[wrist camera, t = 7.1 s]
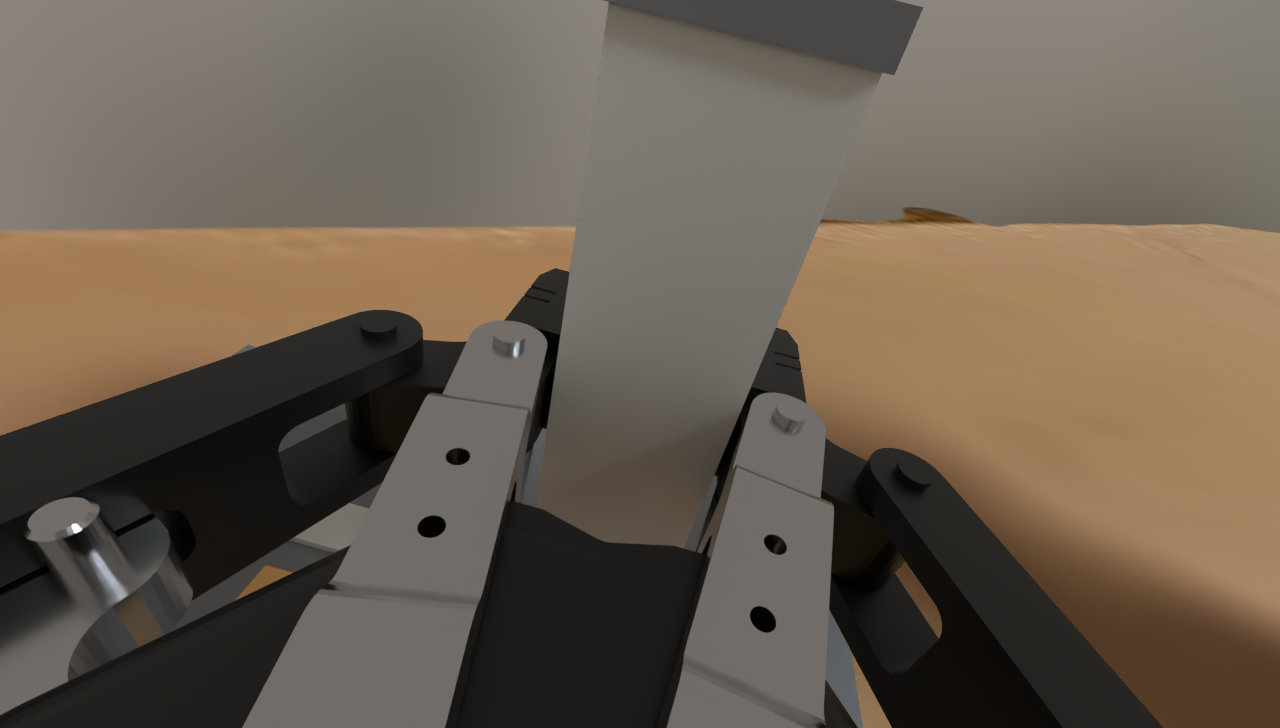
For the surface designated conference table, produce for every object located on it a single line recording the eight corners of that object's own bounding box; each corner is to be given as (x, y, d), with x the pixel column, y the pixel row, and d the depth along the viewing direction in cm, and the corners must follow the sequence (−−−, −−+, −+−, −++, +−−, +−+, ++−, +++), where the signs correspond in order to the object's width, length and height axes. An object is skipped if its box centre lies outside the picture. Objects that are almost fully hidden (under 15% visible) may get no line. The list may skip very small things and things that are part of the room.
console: (800, 545, 21) (840, 481, 19) (849, 1030, 11) (946, 1010, 9) (261, 396, 21) (240, 317, 19) (-164, 734, 11) (-303, 647, 9)
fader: (657, 556, 16) (864, 9, 8) (639, 667, 13) (923, 7, 5) (551, 527, 16) (654, -46, 8) (512, 631, 13) (607, -74, 5)
